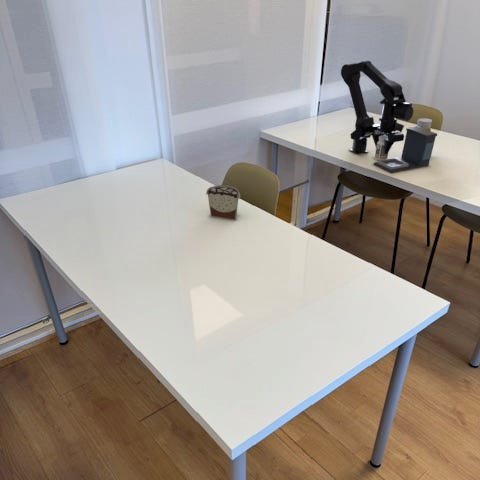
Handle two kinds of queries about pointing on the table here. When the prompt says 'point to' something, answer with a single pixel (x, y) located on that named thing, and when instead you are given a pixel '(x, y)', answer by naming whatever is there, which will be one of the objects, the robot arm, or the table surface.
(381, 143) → the pill bottle
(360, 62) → the robot arm
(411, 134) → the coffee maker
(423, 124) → the bottle
